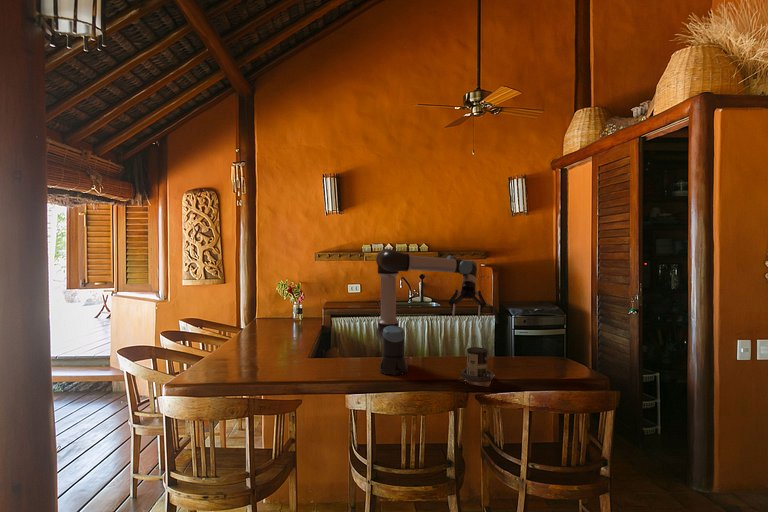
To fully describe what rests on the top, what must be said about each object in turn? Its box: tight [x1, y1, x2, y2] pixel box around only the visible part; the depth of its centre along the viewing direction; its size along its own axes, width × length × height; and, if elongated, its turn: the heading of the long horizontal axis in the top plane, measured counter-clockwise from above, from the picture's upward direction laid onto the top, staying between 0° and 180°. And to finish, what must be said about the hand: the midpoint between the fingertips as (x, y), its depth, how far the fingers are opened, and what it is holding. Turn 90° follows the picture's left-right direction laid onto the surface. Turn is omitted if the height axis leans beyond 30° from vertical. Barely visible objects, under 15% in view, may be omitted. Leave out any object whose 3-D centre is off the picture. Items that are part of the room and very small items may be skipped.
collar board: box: [459, 367, 496, 388], centre depth 241 cm, size 15×15×4 cm
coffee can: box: [466, 346, 489, 377], centre depth 241 cm, size 10×10×14 cm
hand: (466, 316), depth 255 cm, fingers open, 13 cm apart
